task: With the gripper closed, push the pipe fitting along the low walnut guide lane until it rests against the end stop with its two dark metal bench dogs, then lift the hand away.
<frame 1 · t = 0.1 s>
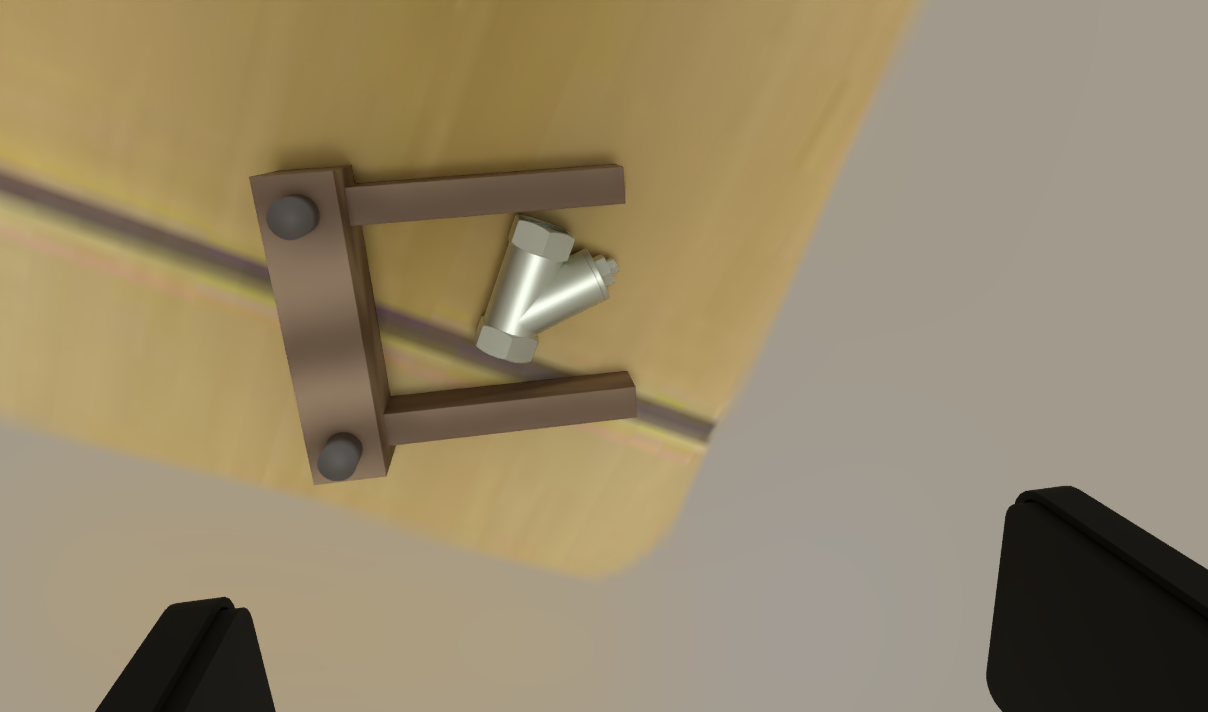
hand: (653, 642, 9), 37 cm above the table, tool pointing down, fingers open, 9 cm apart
pipe fitting: (547, 290, 45), on the table
bench jig: (451, 304, 44), on the table
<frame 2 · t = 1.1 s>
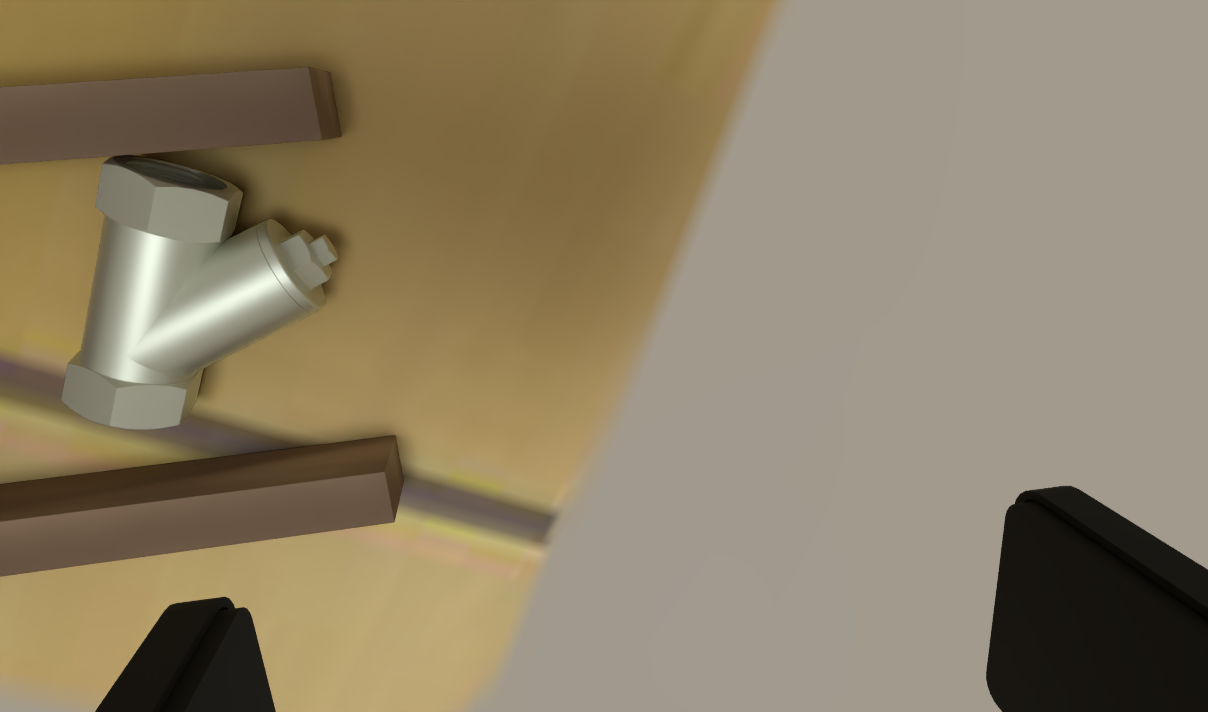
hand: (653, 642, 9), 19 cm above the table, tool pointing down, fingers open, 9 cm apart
pipe fitting: (229, 294, 26), on the table
bench jig: (55, 328, 25), on the table
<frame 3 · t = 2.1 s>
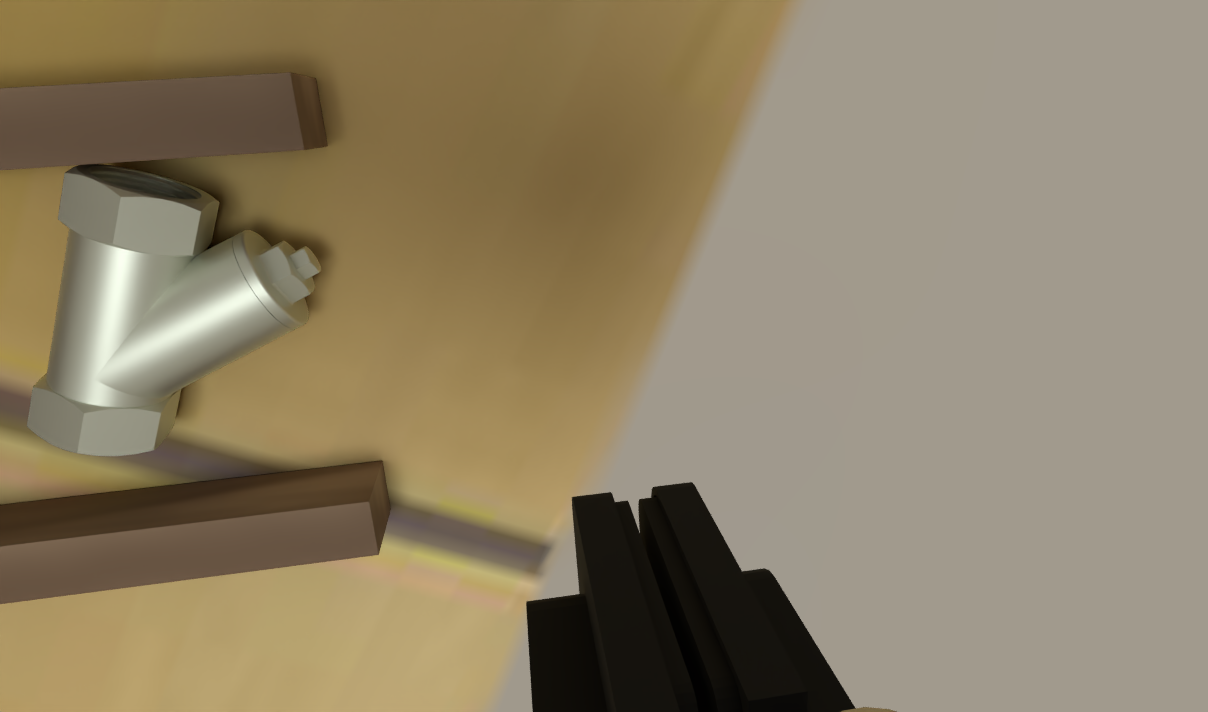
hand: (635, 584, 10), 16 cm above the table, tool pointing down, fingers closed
pipe fitting: (208, 310, 24), on the table
bench jig: (22, 345, 23), on the table
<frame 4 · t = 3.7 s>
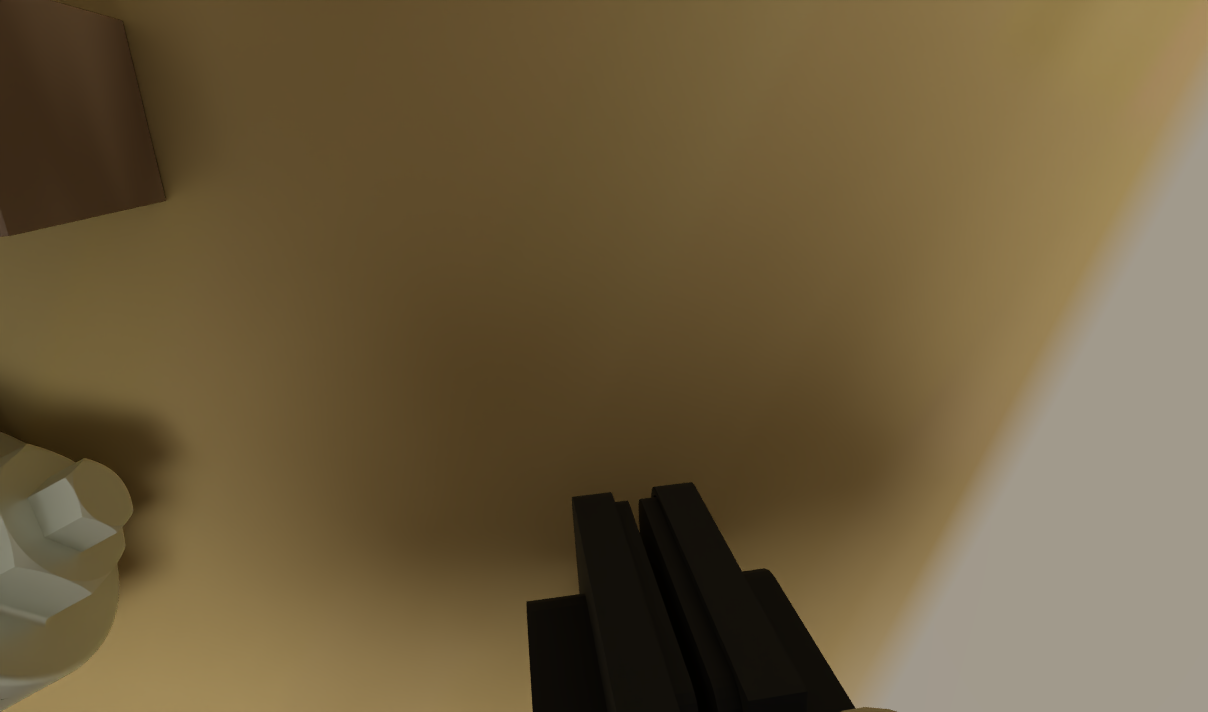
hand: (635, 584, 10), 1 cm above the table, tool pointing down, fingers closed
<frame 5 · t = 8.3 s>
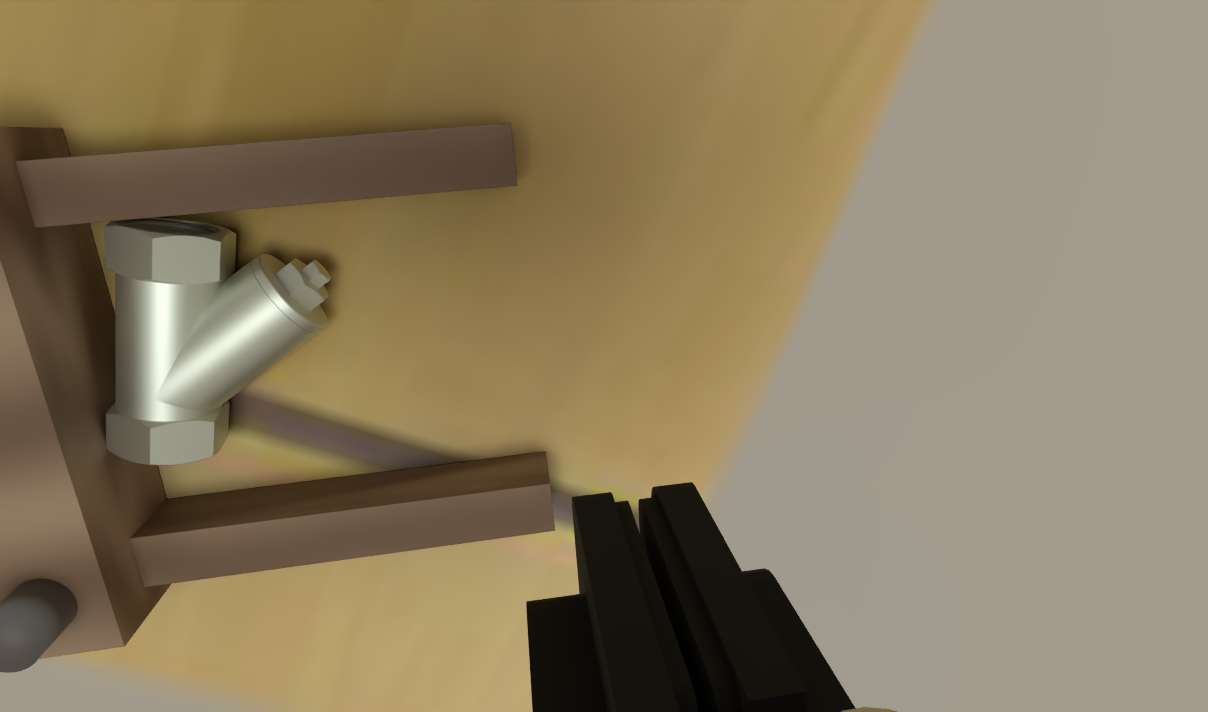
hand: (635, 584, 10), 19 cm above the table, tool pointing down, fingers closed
pipe fitting: (242, 331, 28), on the table
bench jig: (254, 353, 28), on the table
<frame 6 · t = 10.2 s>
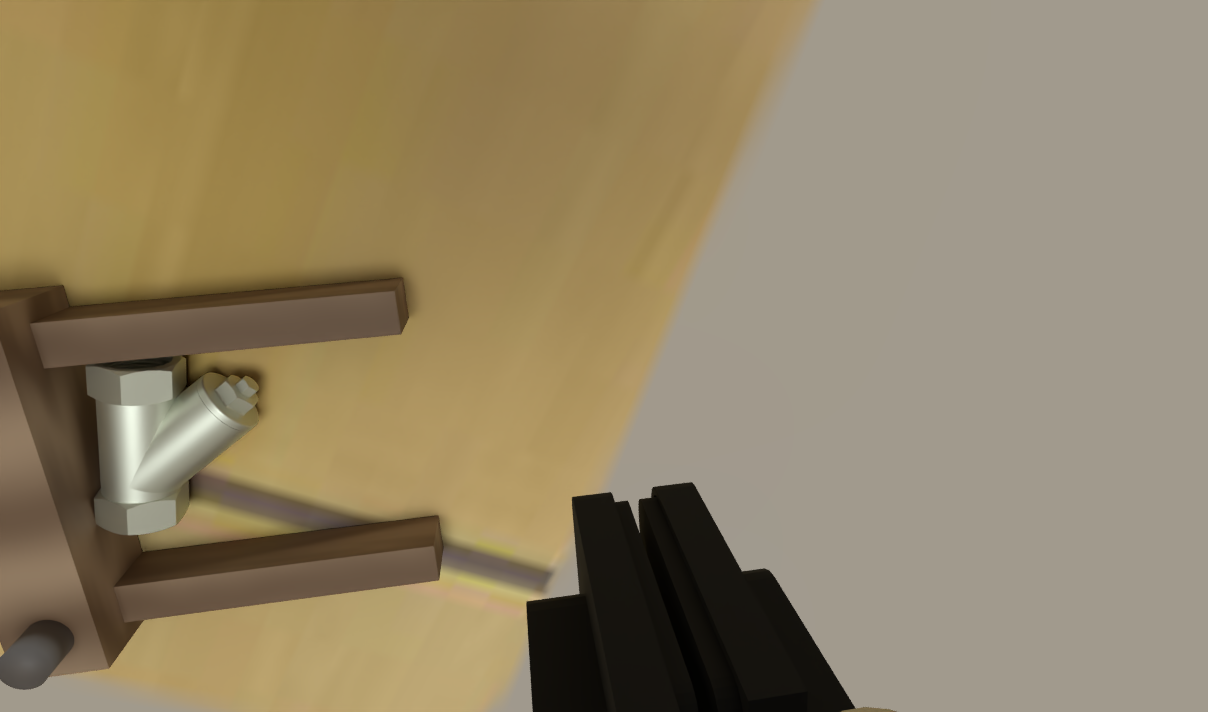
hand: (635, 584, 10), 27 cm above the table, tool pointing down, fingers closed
pipe fitting: (197, 425, 36), on the table, touching bench jig
bench jig: (209, 444, 36), on the table
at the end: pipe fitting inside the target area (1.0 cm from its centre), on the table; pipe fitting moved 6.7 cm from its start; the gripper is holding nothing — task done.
